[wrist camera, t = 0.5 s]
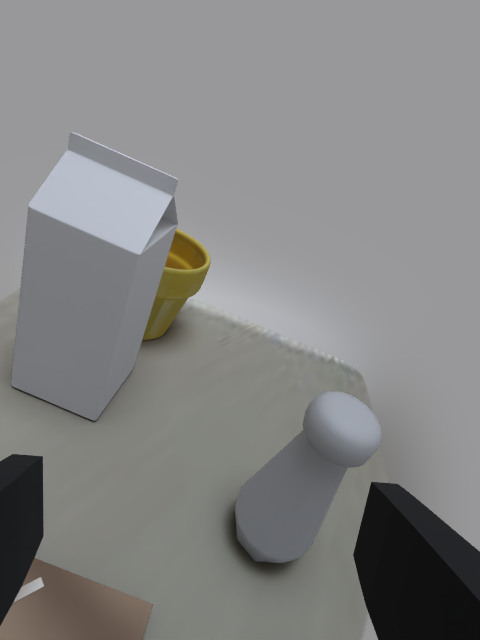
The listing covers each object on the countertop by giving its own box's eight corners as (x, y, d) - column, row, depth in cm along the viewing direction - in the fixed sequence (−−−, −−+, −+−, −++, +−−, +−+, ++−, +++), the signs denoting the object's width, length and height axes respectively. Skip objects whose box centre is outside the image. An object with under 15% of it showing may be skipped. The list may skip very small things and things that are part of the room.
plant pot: (193, 316, 48) (220, 245, 43) (168, 366, 39) (198, 283, 34) (113, 283, 47) (131, 207, 42) (68, 326, 38) (85, 236, 34)
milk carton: (95, 423, 31) (157, 189, 21) (9, 387, 30) (33, 134, 21) (133, 370, 37) (194, 171, 27) (62, 340, 37) (99, 128, 27)
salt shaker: (209, 510, 28) (285, 381, 22) (268, 485, 32) (348, 368, 25) (253, 594, 25) (359, 470, 18) (314, 556, 28) (420, 440, 22)
